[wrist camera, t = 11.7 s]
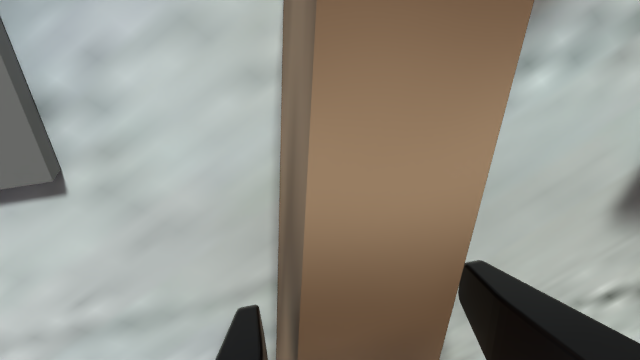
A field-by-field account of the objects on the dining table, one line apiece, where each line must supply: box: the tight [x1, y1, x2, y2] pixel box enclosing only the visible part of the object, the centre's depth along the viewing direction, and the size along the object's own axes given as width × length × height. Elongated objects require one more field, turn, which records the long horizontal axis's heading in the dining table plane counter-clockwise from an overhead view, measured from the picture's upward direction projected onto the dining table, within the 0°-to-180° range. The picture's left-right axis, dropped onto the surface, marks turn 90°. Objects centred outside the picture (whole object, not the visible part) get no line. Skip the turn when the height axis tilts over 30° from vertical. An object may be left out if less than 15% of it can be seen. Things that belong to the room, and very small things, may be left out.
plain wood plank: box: [276, 0, 534, 360], centre depth 10 cm, size 12×3×4 cm, turn 177°
